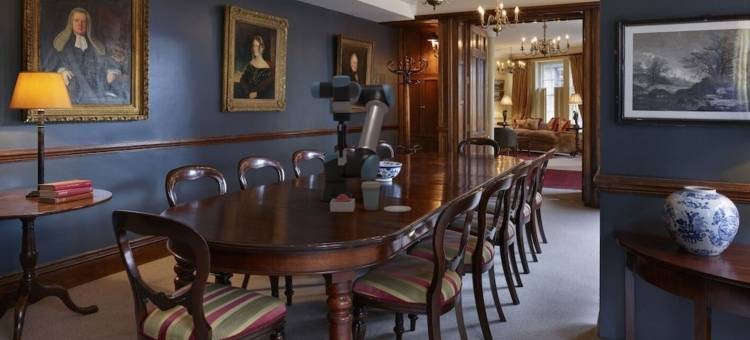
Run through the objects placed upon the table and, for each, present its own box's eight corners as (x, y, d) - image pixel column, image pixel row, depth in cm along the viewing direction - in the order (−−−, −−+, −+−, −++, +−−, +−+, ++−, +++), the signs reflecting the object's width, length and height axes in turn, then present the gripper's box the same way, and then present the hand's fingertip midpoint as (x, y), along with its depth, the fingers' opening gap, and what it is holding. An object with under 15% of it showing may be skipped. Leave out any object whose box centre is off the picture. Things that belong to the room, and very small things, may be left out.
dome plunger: (333, 207, 248) (333, 196, 247) (335, 204, 255) (335, 193, 254) (350, 207, 247) (350, 196, 247) (352, 204, 255) (352, 193, 254)
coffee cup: (383, 208, 254) (383, 181, 253) (377, 211, 246) (376, 184, 245) (365, 207, 257) (365, 180, 256) (358, 210, 249) (358, 183, 248)
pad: (378, 209, 252) (378, 207, 252) (398, 205, 259) (398, 204, 259) (396, 212, 243) (396, 211, 243) (416, 209, 250) (416, 208, 250)
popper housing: (330, 211, 247) (330, 202, 246) (332, 207, 257) (332, 198, 256) (353, 211, 246) (353, 202, 246) (355, 207, 256) (354, 198, 256)
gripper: (335, 111, 257) (336, 161, 259) (330, 112, 236) (330, 166, 239) (352, 111, 256) (352, 161, 259) (348, 112, 236) (348, 166, 238)
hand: (342, 163), depth 249 cm, fingers open, 8 cm apart
